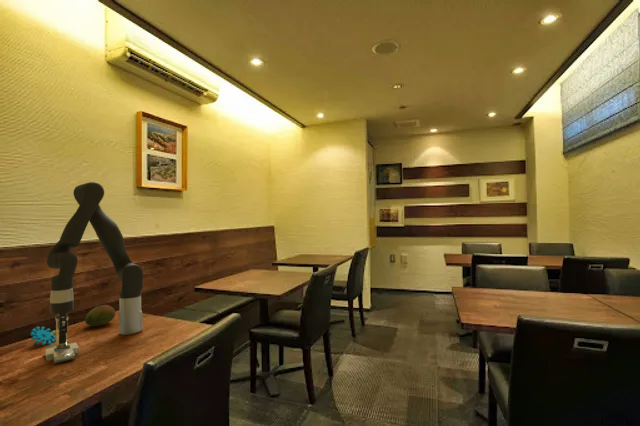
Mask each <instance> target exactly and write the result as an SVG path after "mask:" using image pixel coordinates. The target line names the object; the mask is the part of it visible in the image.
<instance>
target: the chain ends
mask: <svg viewBox="0 0 640 426" xmlns="http://www.w3.org/2000/svg"><path fill="white" fill-rule="evenodd" d="M79 349H80V348H79V345H78V343H77V342H71V343H70V339H67V347H66V348H64V349H56V342H51V344H49V348H45V360H46V362H48V361H52V360H53V364H55V365H56V364H59V363H63V362H67V361H72V360H74V359H76V355H77V354H79Z"/></svg>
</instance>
